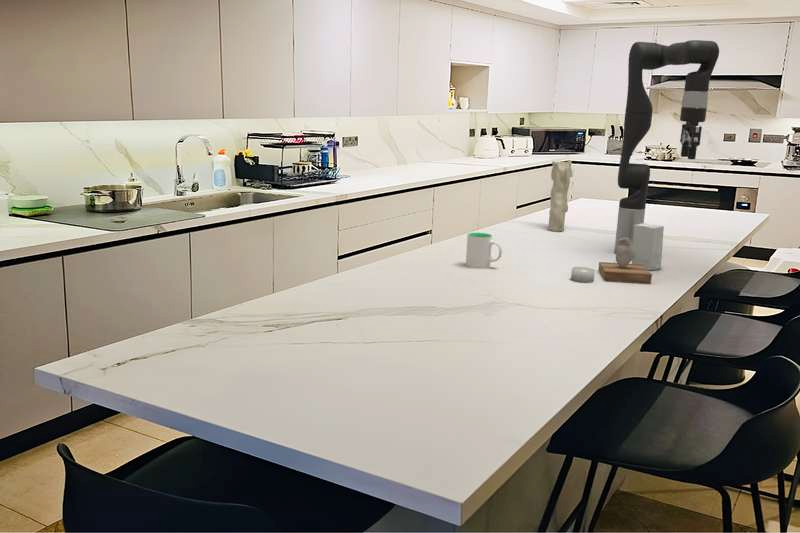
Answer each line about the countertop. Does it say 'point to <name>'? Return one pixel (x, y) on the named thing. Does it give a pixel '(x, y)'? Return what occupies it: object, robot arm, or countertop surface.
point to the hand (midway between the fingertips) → (687, 158)
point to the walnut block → (624, 273)
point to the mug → (480, 250)
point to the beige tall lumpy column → (559, 194)
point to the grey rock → (624, 252)
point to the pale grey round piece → (582, 274)
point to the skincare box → (648, 245)
